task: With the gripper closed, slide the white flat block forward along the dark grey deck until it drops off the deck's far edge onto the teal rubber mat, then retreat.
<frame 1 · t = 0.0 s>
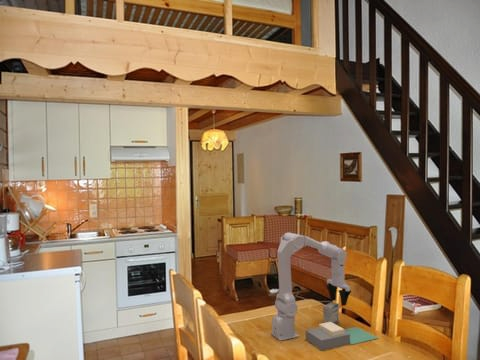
hand: (338, 302, 170), 10 cm above the table, fingers open, 7 cm apart
mat: (354, 335, 158), on the table
medicine box: (331, 323, 172), on the table
deck: (327, 341, 152), on the table
white flat block: (331, 331, 153), point 4 cm above the table, touching deck
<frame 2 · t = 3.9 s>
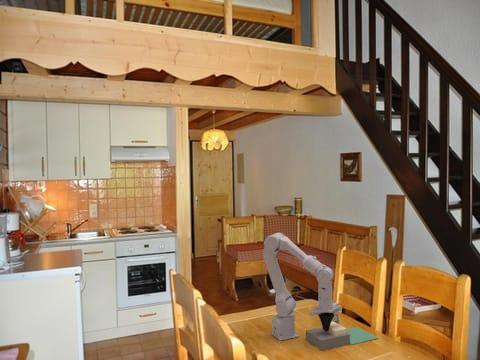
hand: (326, 330, 152), 5 cm above the table, fingers closed
white flat block: (333, 330, 153), point 4 cm above the table, touching deck, gripper
everything else where it was.
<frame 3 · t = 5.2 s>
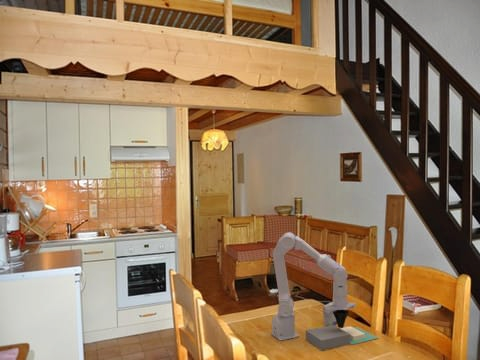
hand: (340, 327, 155), 5 cm above the table, fingers closed
white flat block: (351, 331, 157), point 2 cm above the table, tilted 180°, touching mat
everything else where it was.
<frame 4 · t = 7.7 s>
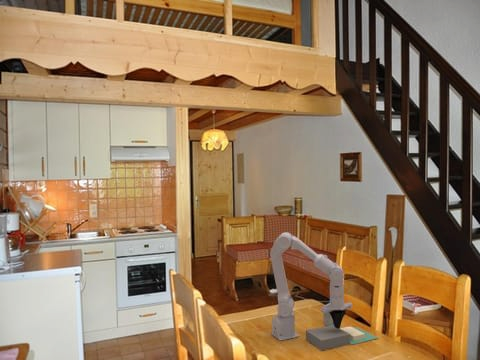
hand: (337, 327, 154), 5 cm above the table, fingers closed
nothing on the table moved.
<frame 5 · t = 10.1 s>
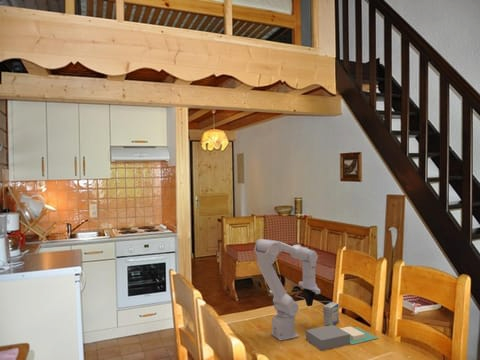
hand: (309, 305, 168), 10 cm above the table, fingers closed
nothing on the table moved.
at the end: white flat block inside the target area (1.4 cm from its centre), point 2.3 cm above the table; white flat block point 2.3 cm above the table; white flat block touching mat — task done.
